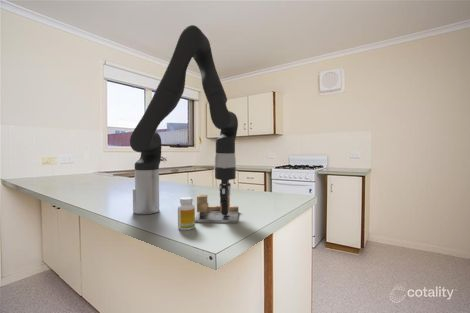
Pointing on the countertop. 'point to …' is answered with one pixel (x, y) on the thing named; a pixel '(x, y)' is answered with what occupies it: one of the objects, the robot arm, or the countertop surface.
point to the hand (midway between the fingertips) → (225, 212)
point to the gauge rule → (203, 206)
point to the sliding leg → (228, 205)
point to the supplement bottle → (186, 214)
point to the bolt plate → (217, 217)
